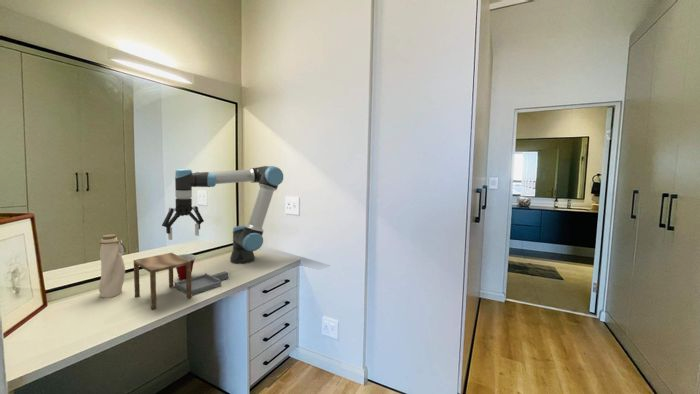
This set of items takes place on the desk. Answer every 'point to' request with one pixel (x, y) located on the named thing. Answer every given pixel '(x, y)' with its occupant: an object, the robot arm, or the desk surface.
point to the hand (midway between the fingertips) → (184, 237)
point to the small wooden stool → (161, 264)
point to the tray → (202, 282)
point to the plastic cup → (182, 269)
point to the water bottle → (111, 266)
